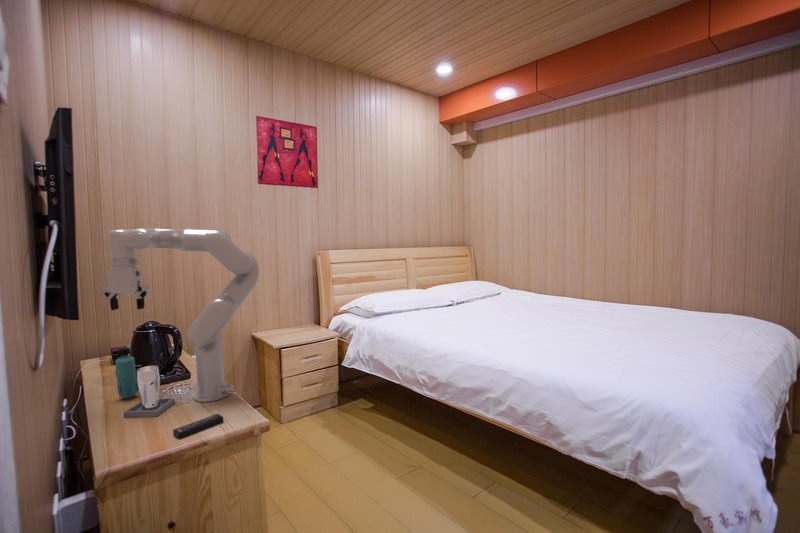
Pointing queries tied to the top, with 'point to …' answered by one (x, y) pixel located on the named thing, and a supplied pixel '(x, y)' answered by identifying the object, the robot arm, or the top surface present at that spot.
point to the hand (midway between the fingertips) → (127, 309)
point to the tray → (136, 411)
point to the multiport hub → (197, 426)
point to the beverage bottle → (126, 374)
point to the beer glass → (149, 387)
